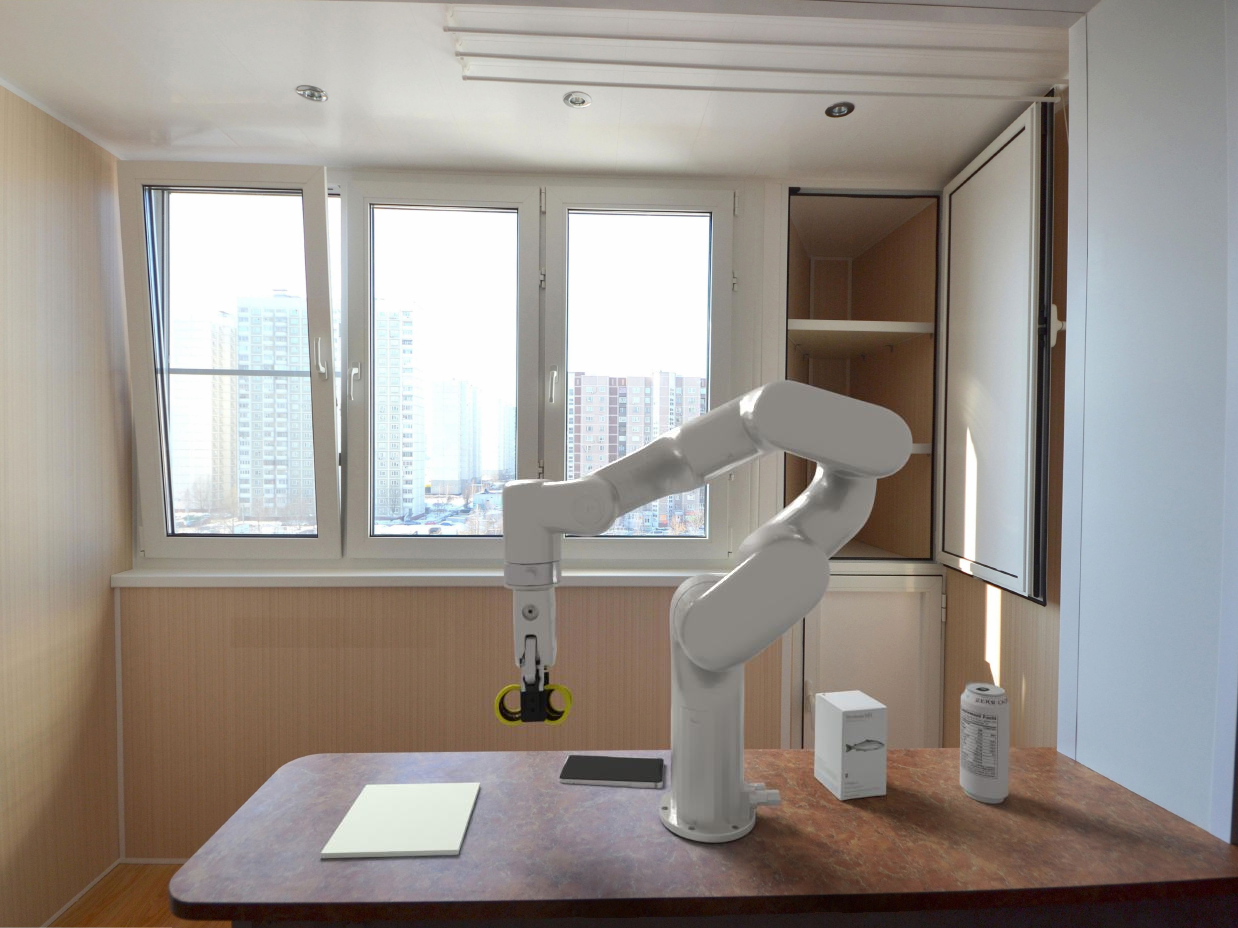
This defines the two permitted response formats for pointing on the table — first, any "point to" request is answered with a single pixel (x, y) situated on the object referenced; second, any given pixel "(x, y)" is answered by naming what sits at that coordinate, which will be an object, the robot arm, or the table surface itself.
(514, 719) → the opera glasses
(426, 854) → the mat
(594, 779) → the smartphone
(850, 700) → the supplement box
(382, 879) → the table surface
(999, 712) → the energy drink can
